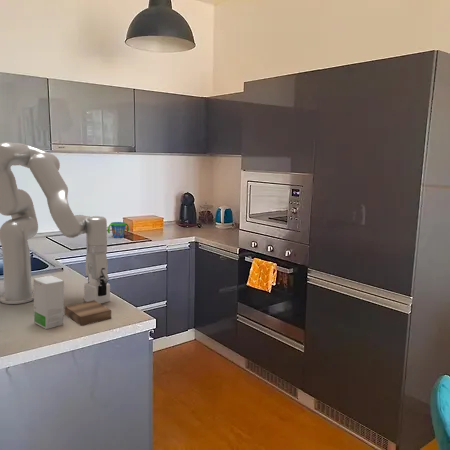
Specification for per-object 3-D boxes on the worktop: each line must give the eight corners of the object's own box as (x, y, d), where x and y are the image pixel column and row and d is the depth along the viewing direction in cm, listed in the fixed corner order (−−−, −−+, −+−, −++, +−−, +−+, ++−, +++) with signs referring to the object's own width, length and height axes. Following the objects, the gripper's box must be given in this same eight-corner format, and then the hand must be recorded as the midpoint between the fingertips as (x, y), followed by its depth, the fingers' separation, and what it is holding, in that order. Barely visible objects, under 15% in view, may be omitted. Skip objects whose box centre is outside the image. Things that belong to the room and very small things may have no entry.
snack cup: (125, 235, 310) (125, 221, 308) (132, 237, 302) (132, 223, 300) (104, 236, 301) (104, 222, 299) (110, 239, 292) (110, 224, 291)
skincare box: (33, 323, 144) (32, 278, 142) (51, 318, 149) (50, 274, 147) (46, 330, 139) (45, 283, 137) (65, 324, 144) (64, 279, 142)
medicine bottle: (99, 297, 173) (99, 268, 171) (110, 301, 169) (110, 271, 167) (84, 301, 168) (83, 271, 166) (94, 305, 163) (94, 274, 161)
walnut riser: (65, 314, 153) (65, 306, 153) (94, 308, 160) (94, 300, 160) (81, 325, 144) (80, 317, 143) (111, 318, 151) (111, 310, 151)
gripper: (77, 245, 169) (78, 289, 171) (98, 254, 156) (98, 300, 159) (95, 243, 174) (96, 285, 176) (116, 251, 161) (117, 296, 164)
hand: (97, 292), depth 168 cm, fingers closed on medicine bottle, 7 cm apart
